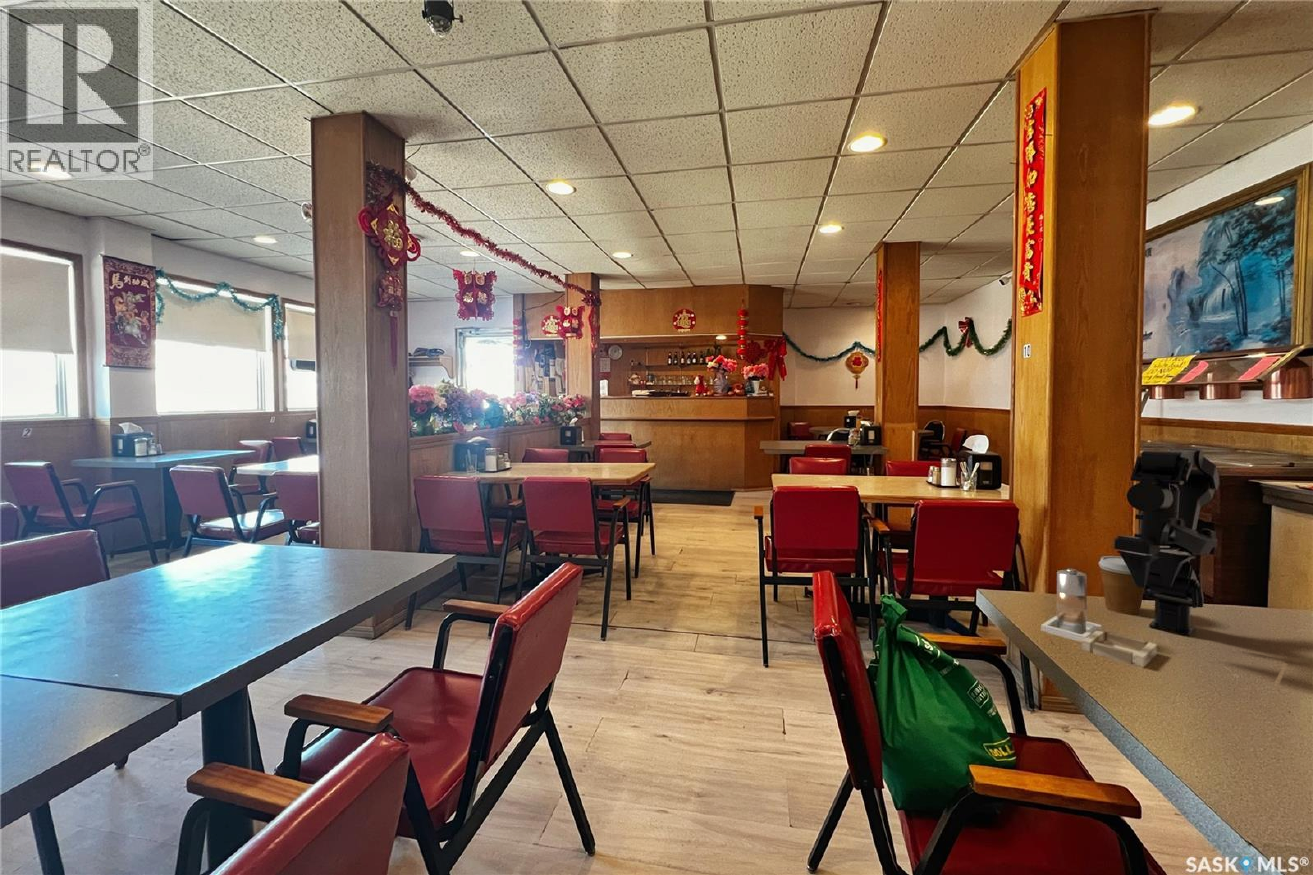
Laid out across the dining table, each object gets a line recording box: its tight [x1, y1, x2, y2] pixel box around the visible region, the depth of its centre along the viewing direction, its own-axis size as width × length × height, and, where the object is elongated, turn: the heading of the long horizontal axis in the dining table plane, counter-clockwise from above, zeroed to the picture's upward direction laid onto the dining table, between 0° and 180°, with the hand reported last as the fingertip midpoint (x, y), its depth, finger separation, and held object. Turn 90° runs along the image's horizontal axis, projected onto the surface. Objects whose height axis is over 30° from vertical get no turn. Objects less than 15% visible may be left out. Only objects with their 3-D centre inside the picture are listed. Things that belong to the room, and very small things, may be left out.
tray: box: [1040, 615, 1103, 643], centre depth 120 cm, size 10×8×2 cm
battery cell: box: [1056, 568, 1088, 635], centre depth 119 cm, size 5×5×13 cm
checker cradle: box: [1081, 629, 1158, 669], centre depth 109 cm, size 9×9×2 cm
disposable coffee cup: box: [1098, 555, 1145, 615], centre depth 133 cm, size 10×10×12 cm
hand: (1154, 587), depth 113 cm, fingers open, 9 cm apart
